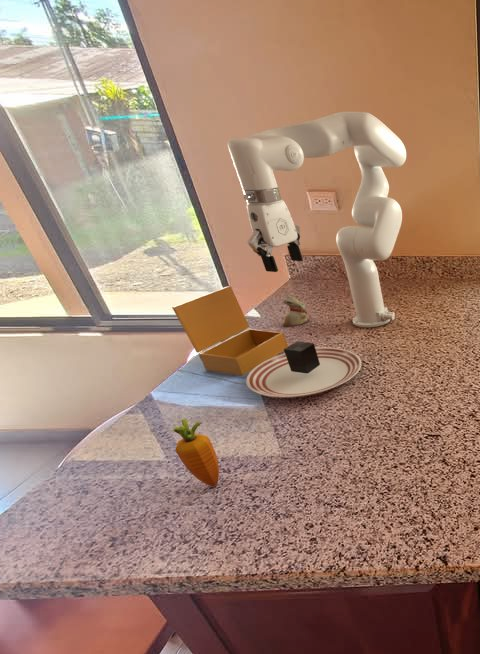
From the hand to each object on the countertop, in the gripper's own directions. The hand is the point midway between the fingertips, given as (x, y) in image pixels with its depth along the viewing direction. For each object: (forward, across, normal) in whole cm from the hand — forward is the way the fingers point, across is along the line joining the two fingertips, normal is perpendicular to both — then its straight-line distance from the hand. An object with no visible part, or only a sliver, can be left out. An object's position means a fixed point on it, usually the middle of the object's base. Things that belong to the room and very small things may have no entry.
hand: (285, 265), depth 112 cm
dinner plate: (+26, -14, -9) cm, 31 cm away
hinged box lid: (+14, -8, +20) cm, 26 cm away
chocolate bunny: (+27, +19, +20) cm, 38 cm away
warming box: (+26, -8, +14) cm, 31 cm away
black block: (+23, -14, -9) cm, 28 cm away
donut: (+26, +1, +26) cm, 37 cm away
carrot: (+25, -53, -17) cm, 61 cm away
